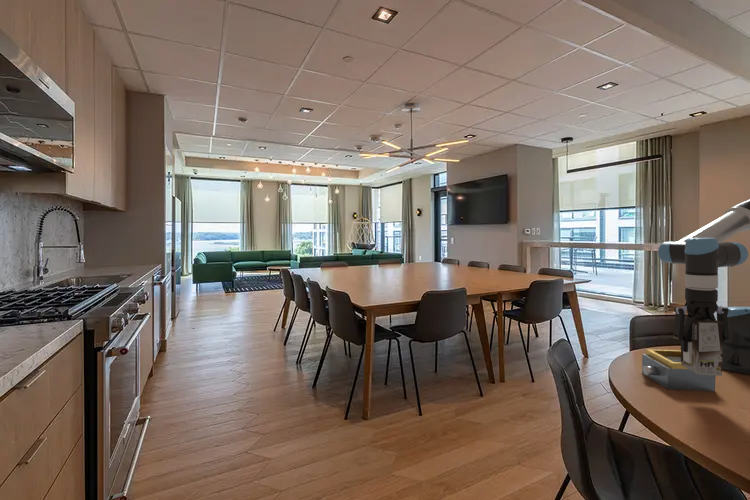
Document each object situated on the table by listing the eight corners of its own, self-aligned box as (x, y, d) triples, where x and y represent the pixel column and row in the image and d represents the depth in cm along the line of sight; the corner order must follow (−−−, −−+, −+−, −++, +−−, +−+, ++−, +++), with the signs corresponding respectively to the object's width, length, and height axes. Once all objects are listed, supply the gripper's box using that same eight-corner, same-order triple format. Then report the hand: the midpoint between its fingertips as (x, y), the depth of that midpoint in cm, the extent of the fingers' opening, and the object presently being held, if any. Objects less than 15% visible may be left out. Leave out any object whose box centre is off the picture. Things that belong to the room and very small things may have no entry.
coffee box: (723, 376, 108) (724, 322, 107) (698, 375, 109) (698, 322, 109) (702, 364, 117) (703, 315, 116) (679, 364, 118) (679, 315, 117)
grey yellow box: (684, 374, 133) (684, 350, 132) (715, 391, 118) (715, 364, 118) (633, 372, 135) (633, 349, 135) (657, 389, 121) (657, 362, 120)
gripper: (727, 285, 114) (726, 357, 115) (658, 286, 117) (658, 357, 118) (747, 289, 107) (746, 366, 108) (674, 290, 110) (673, 366, 111)
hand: (700, 361), depth 113 cm, fingers closed on coffee box, 7 cm apart
